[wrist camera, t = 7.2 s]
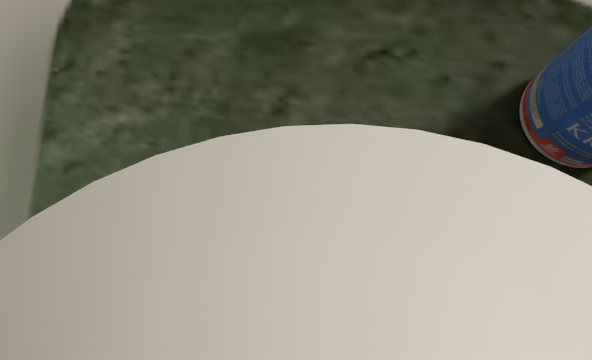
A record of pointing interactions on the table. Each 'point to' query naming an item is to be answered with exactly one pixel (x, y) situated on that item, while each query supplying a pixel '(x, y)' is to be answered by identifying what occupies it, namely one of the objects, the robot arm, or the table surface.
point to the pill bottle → (562, 106)
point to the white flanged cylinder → (308, 255)
